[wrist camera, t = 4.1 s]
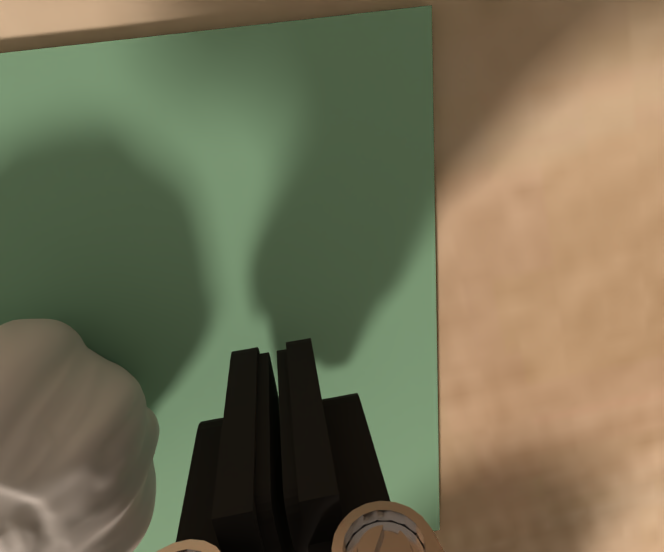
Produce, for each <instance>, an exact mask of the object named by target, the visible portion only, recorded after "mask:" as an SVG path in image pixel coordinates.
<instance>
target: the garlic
mask: <svg viewBox="0 0 664 552" xmlns="http://www.w3.org/2000/svg"><path fill="white" fill-rule="evenodd" d="M158 439H159V423H158V420H157V418H156V416H155V414H154V413H153V411H152V410H151V409H149V408H148V407H147V405H146V399H145V395H144V393H143V391H142V388H141V386H140V384H139V382H138V381H137V380H136V379H135V378H134V377H133V376H132V375H131V374H130V373H129V372H128V371H127V370H125V369H124V368H123V367H121V366H119V365H118V364H116V363H113V362H111V361H109V360H107V359H105V358H103V357H102V356H100V355H99V354H97V353H96V352H94V351H92V350H91V349H89V348H88V347H87V346H86V345H85V344H84V342H83V340H82V338H81V337H80V335H79V334H78V333H77V332H76V331H75V330H74V329H73V328H72V327H70V326H69V325H67V324H65V323H63V322H61V321H58V320H53V319H18V320H12V321H9V322H7V323H4V324H2V325H0V552H133V551H134V550H135V549H136V547H137V546H138V545H139V543H140V542H141V540H142V539H143V537H144V535H145V534H146V532H147V530H148V527H149V525H150V522H151V519H152V516H153V511H154V506H155V498H156V473H155V468H154V462H153V457H154V454H155V450H156V447H157V443H158Z"/></svg>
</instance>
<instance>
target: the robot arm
mask: <svg viewBox="0 0 664 552" xmlns="http://www.w3.org/2000/svg"><path fill="white" fill-rule="evenodd" d="M277 370H278V392H279V396H278V392H277V387H276V382H275V377H274V372H273V367H272V362H271V358H270V354H269V352H267V353H261V354H260V351H259V348H258V347H255V348H250V349H244V350H238V351H232V352H231V358H230V366H229V374H228V383H227V391H226V399H225V408H224V416H223V418H218V419H212V420H207V421H201V422H200V423H199V425H198V428H197V433H196V438H195V443H194V449H193V454H192V459H191V464H190V470H189V475H188V480H187V485H186V491H185V496H184V501H183V506H182V512H181V517H180V522H179V527H178V533H177V538H176V542H175V543H172V544H170V545H168V546H166V547H164V548H162V549H160V550H158V551H157V552H444V550H443V548H442V546H441V545H440V543H439V541H438V539H437V537H436V536H435V534H434V532H433V530H432V528H431V527H430V526H429V524H428V523H427V522H426V521H425V519H424V518H423V517H422V516H421V515H420V514H418V513H417V512H416V511H414V510H413V509H412V508H410V507H408V506H405V505H402V504H400V503H397V502H391V501H390V498H389V494H388V491H387V488H386V484H385V481H384V478H383V474H382V471H381V468H380V464H379V461H378V458H377V454H376V451H375V448H374V444H373V441H372V437H371V434H370V431H369V427H368V424H367V421H366V417H365V414H364V411H363V407H362V404H361V401H360V398H359V395H358V393H354V394H348V395H343V396H337V397H332V398H326V399H322V397H321V391H320V386H319V380H318V375H317V369H316V364H315V358H314V352H313V347H312V341H311V338H307V339H301V340H296V341H290V342H286V349H284V350H278V351H277Z"/></svg>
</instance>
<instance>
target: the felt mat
mask: <svg viewBox="0 0 664 552" xmlns="http://www.w3.org/2000/svg"><path fill="white" fill-rule="evenodd" d="M18 319H53V320H58V321H61V322H63V323H65V324H67V325H69V326H70V327H72V328H73V329H74V330H75V331H76V332H77V333H78V334H79V335H80V337H81V338H82V340H83V342H84V344H85V345H86V346H87V347H88V348H89V349H91V350H92V351H94V352H96V353H97V354H99V355H100V356H102V357H103V358H105V359H107V360H109V361H111V362H113V363H116V364H118V365H119V366H121V367H123V368H124V369H125V370H127V371H128V372H129V373H130V374H131V375H132V376H133V377H134V378H135V379H136V380H137V381H138V382H139V384H140V386H141V388H142V391H143V393H144V395H145V399H146V405H147V407H148V408H149V409H151V410H152V411H153V413H154V414H155V416H156V418H157V420H158V423H159V439H158V443H157V447H156V450H155V454H154V457H153V462H154V468H155V473H156V498H155V506H154V511H153V516H152V519H151V522H150V525H149V527H148V530H147V532H146V534H145V535H144V537H143V539H142V540H141V542H140V543H139V545H138V546H137V547H136V549H135V550H134V551H133V552H157V551H158V550H160V549H162V548H164V547H166V546H168V545H170V544H172V543H175V542H176V538H177V533H178V527H179V522H180V517H181V512H182V506H183V501H184V496H185V491H186V485H187V480H188V475H189V470H190V464H191V459H192V454H193V449H194V443H195V438H196V433H197V428H198V425H199V423H200V422H201V421H207V420H212V419H218V418H223V416H224V408H225V399H226V391H227V383H228V374H229V366H230V358H231V352H232V351H238V350H244V349H250V348H255V347H258V348H259V351H260V354H261V353H267V352H269V354H270V358H271V362H272V367H273V372H274V377H275V382H276V387H277V392H278V370H277V351H278V350H284V349H286V342H290V341H296V340H301V339H307V338H311V341H312V347H313V352H314V358H315V364H316V369H317V375H318V380H319V386H320V391H321V397H322V399H326V398H332V397H337V396H343V395H348V394H354V393H358V395H359V398H360V401H361V404H362V407H363V411H364V414H365V417H366V421H367V424H368V427H369V431H370V434H371V437H372V441H373V444H374V448H375V451H376V454H377V458H378V461H379V464H380V468H381V471H382V474H383V478H384V481H385V484H386V488H387V491H388V494H389V498H390V501H391V502H397V503H400V504H402V505H405V506H408V507H410V508H412V509H413V510H414V511H416V512H417V513H418V514H420V515H421V516H422V517H423V518H424V519H425V521H426V522H427V523H428V524H429V526H430V527H431V528H432V530H433V531H436V530H440V516H439V451H438V386H437V320H436V255H435V189H434V124H433V59H432V5H430V6H421V7H412V8H403V9H394V10H385V11H376V12H367V13H358V14H349V15H340V16H331V17H322V18H313V19H304V20H295V21H286V22H277V23H268V24H259V25H250V26H241V27H232V28H223V29H214V30H205V31H196V32H187V33H178V34H169V35H160V36H151V37H142V38H133V39H124V40H115V41H106V42H97V43H88V44H79V45H70V46H61V47H52V48H43V49H34V50H25V51H16V52H7V53H0V325H2V324H4V323H7V322H9V321H12V320H18ZM278 396H279V392H278Z"/></svg>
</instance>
